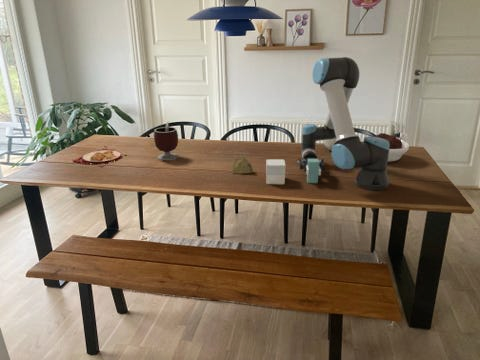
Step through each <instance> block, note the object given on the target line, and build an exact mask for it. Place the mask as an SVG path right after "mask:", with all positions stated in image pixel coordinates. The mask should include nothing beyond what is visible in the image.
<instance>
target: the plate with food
mask: <svg viewBox="0 0 480 360" xmlns="http://www.w3.org/2000/svg"><path fill="white" fill-rule="evenodd" d="M103 146H104V148H102V149H100V150H94V151H91V152H86V153H84V154H83V155H82V156H79V158H76V159H72V161H73V162H76V163H80V164H85V165H90V164H89V163H101V164H102V163H103V164H105V163H106V162H111V161H114V160H115V161H116V159H117V160H119V159H121V158H122V156H121V155H122V153H121V152H119V151H118V150H115V149H114V148H112V149H108V146H105V145H103ZM111 163H112V162H111ZM99 166H100V165H99ZM102 166H103V167H105V166H106V164H105V165H101V166H100V167H101V168H102Z"/></svg>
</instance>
